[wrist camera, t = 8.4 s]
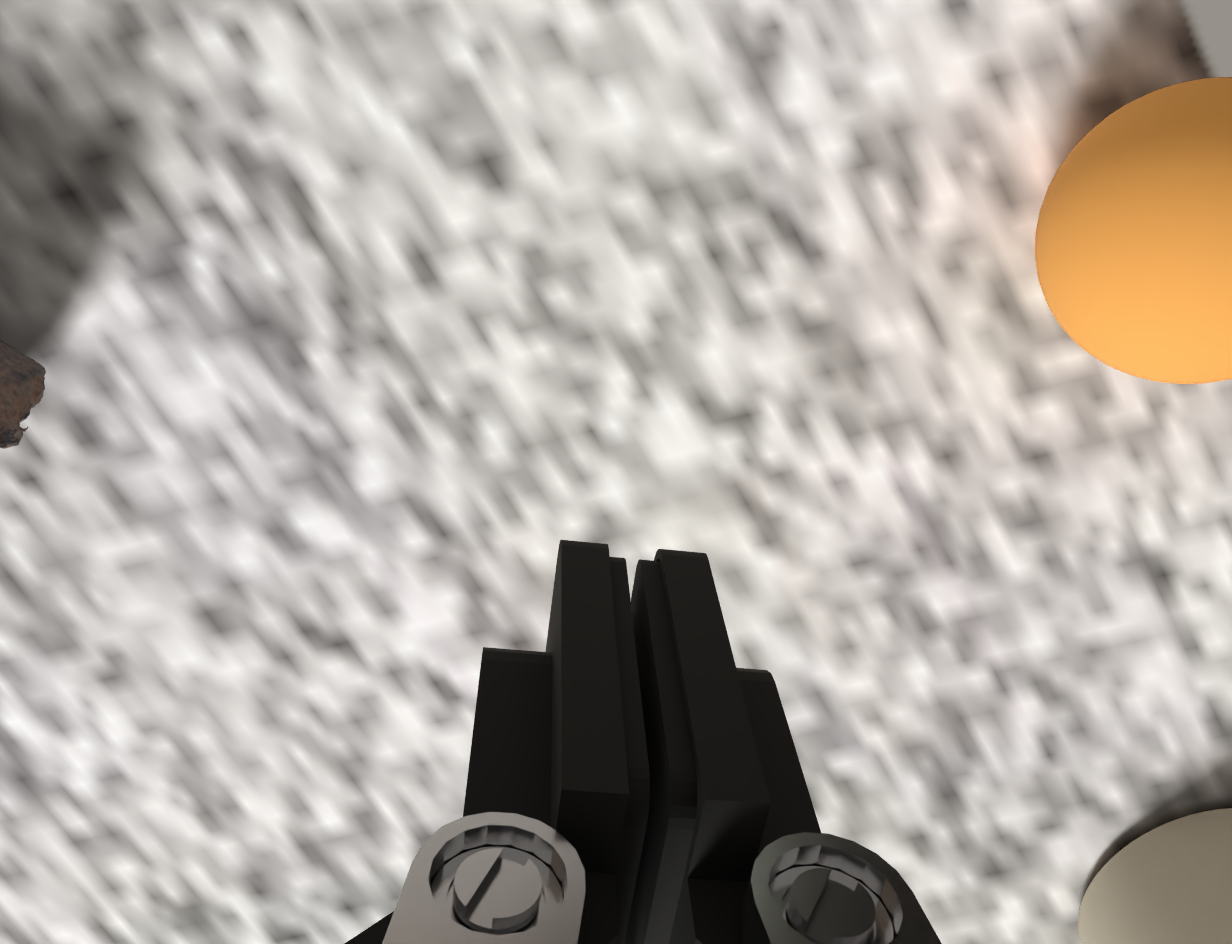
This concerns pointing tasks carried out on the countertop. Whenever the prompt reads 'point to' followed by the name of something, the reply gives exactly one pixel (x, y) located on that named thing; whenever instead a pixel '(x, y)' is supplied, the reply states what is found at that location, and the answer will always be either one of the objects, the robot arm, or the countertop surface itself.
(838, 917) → the robot arm
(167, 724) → the countertop surface
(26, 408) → the perforated stone tool
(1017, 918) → the countertop surface
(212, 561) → the countertop surface
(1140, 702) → the countertop surface
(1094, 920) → the travel mug
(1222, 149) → the ball
